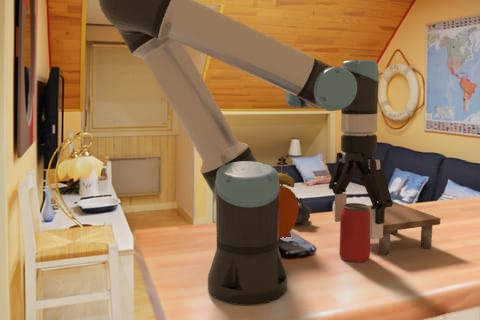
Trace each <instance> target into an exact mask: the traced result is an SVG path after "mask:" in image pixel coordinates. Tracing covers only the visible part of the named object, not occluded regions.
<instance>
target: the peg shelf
mask: <svg viewBox="0 0 480 320" xmlns="http://www.w3.org/2000/svg"><path fill="white" fill-rule="evenodd" d="M392 203H393V205H392V207H386V208H385V217H384V224H383V238H378V254H379V255H380V256H389V255H390V253H391V251H390V248H391V235H398V234H399V231H401V230H407V229H408V230H409V229H417V228H421V229H420V244H419V245H420V246H419V247H420V248H422V249H425V250H431V249H432V242H433V241H432V239H433V226H437V225H441V218H442V217H441V218H440V217H439V216H434V215H433V214H429V213H426V212H423V211H420V210H418V209H415V208H412V207H410V206H407V205H404V204H400V203H398V202H392ZM368 206H369V210H370V208H371V207H372V206H373V205H372V204H370V205H368Z"/></svg>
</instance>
